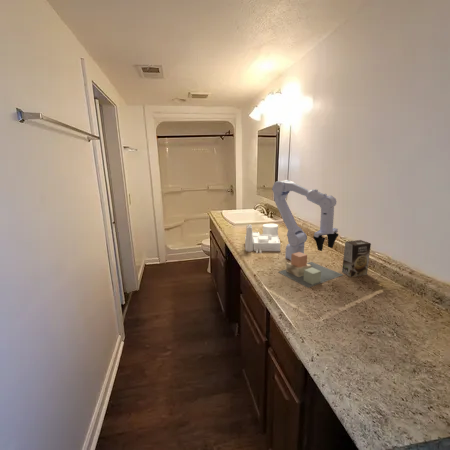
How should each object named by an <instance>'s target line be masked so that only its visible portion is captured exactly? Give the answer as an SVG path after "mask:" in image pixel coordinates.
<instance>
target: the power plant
mask: <svg viewBox="0 0 450 450" xmlns="http://www.w3.org/2000/svg"><path fill="white" fill-rule="evenodd" d="M278 231H279V225H278V224H277V223H264V224H262V233H261V234H260V232H259V231H253V225H252V224H246V229H245V235H244V236H245V237H244V239H245V240H244V243H245V245H244V246H245V247H244V248H245V249H244V250H245V252H249V253H250V252H255V254H258V253H259V254H262V253H263V252H281V241H280V237H279V236H280V235H279V232H278Z"/></svg>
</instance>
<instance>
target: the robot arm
mask: <svg viewBox="0 0 450 450" xmlns="http://www.w3.org/2000/svg"><path fill="white" fill-rule="evenodd" d="M271 190H272V192H273V201H274V203H275V205H276V207H277V210H278V212H279V213H280V217H281V218H282V220H283V223H284V225H285V226H286V229H287V233H286V237H287V242H288V244H287V245H286V246H285V255H284V257H285V259H286V260H287V259H288V260H289V261H291V256H292V254H293V253H297V252H301V253H304V254H305V242H307V240H308V235H307V234H306V232H305V231H304V230H303V229H302V227H300V226H299V225H298V224H297V221H296V220H295V217H294V215H293V213H292V211H291V209H290V207H289V205H288V202H287V200H286V198H287V196H288V194H289V193H290V192H294V193H297V194H298V195H299V194H300V195H302V196H304V197H306V200H307V201H309V202H310V203H313V204H315V205H318V206H319V207H320V221H319V222H320V225H319V230H317V231H315V232H314V233H313V234H314V235H313V239H314V241H315V243H316V248H317V250H318V251H319V252H322V251H323V249H324V248H323V247H324V242H325V240H326V237H327V247H328V248H331V249H332V248H333V247H334V245H335V242H336V240H337V238H338V236H339V233H338V232H339V228H336V227H334V219H335V218H334V216H335V206H336V205H337V199H336V198H335V197H334V196H333V195H327V193H322V192H320V191H319V189H317V188H315V189H310V190H309V189H308V188H306V187H304V186H302V185H300V184H298V183H295V181H292V180H290V179H285V180H278V181H275V182H274V183H273V185H272V188H271ZM324 236H326V237H324Z"/></svg>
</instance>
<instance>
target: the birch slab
mask: <svg viewBox="0 0 450 450" xmlns="http://www.w3.org/2000/svg"><path fill="white" fill-rule="evenodd" d="M285 264H286V265H285V267H286V268H285V270H286V271H287V272H289V273H291V274H293V275H295V276H297V277H301V276H304V270H305V269H308V268H311V265H310V264H307V265H305V266H302V267H297V266H295V265H293V264H291V261H290V262H287V263H285Z"/></svg>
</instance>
